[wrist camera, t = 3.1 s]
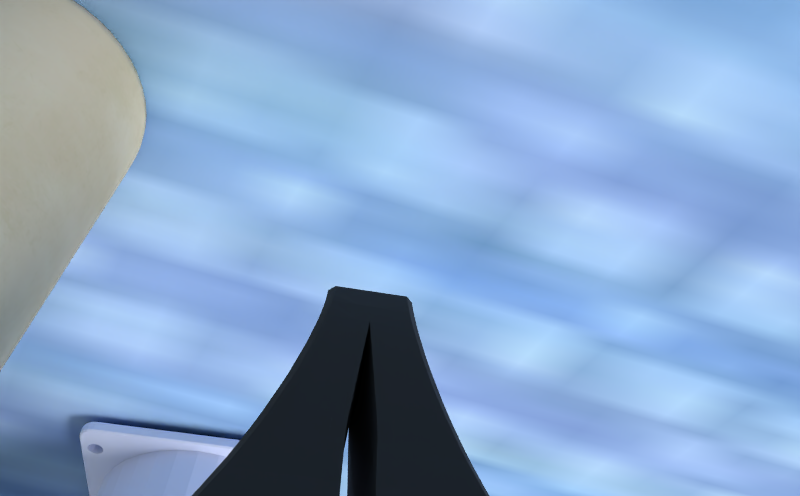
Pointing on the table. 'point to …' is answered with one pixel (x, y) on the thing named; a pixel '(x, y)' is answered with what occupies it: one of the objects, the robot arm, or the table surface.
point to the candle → (57, 145)
